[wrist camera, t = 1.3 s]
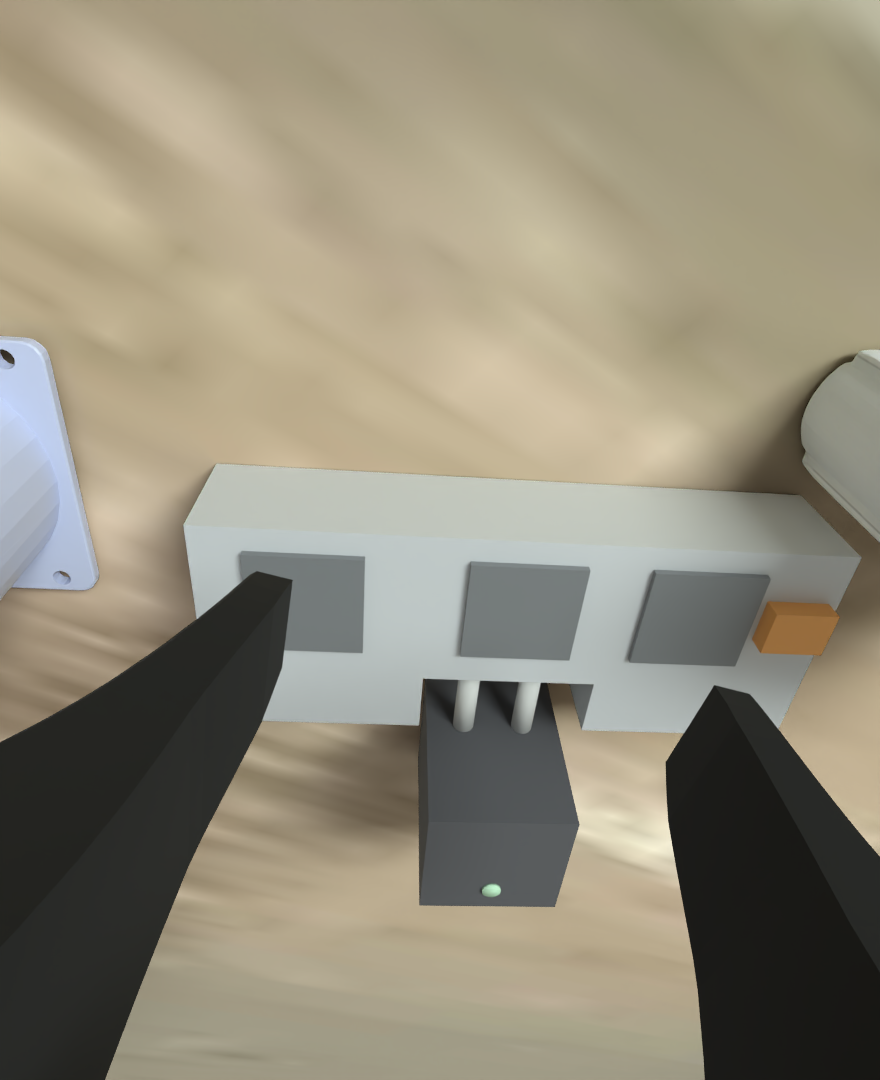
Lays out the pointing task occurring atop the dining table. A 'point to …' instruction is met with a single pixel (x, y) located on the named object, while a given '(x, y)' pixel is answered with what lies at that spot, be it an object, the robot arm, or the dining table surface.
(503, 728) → the charger
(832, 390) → the photo printer
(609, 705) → the power strip
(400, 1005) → the dining table surface
